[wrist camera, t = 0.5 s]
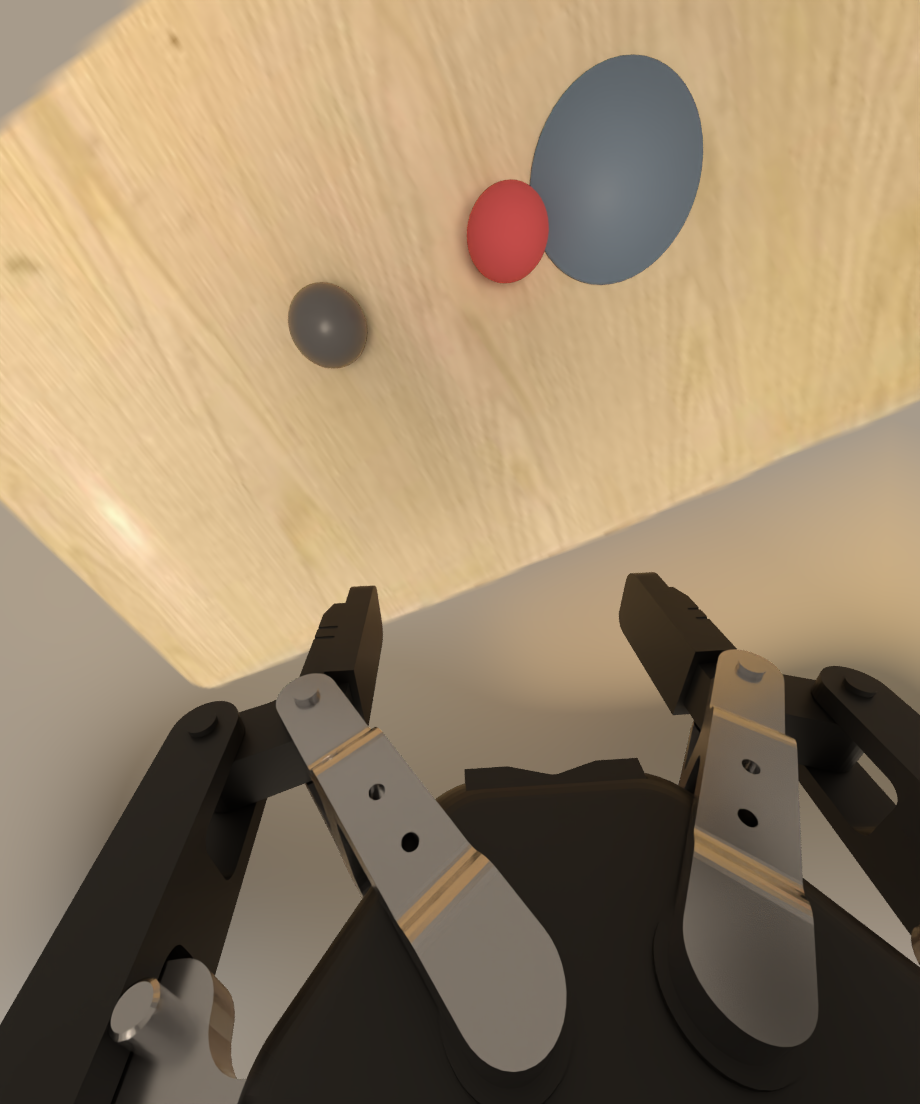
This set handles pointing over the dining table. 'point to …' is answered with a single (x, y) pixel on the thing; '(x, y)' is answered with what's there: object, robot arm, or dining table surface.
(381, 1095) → the robot arm
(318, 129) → the dining table surface
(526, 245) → the red ball
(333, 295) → the gray ball
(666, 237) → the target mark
